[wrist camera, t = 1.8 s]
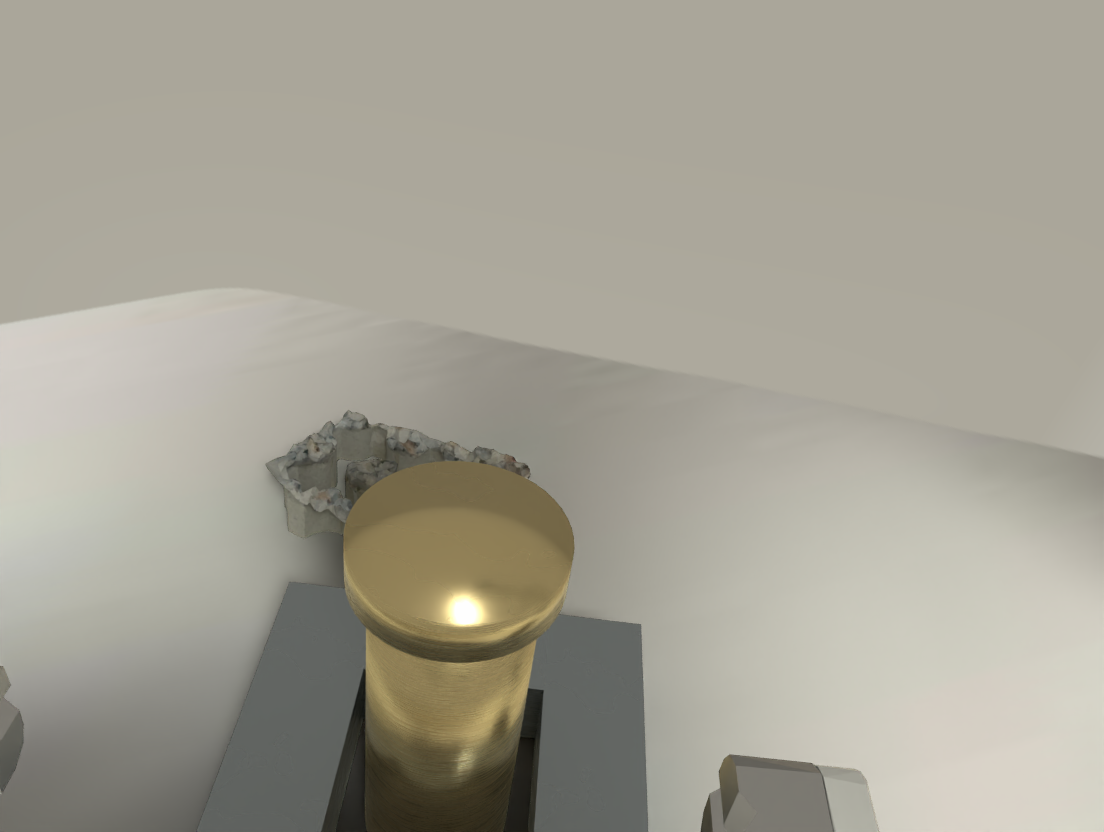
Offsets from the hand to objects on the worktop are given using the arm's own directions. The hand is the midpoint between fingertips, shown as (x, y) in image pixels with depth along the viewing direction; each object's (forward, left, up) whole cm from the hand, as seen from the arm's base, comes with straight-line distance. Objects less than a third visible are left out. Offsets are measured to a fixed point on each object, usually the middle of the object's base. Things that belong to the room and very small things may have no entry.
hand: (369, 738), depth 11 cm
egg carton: (+4, -26, -22) cm, 35 cm away
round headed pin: (0, -12, -22) cm, 25 cm away
